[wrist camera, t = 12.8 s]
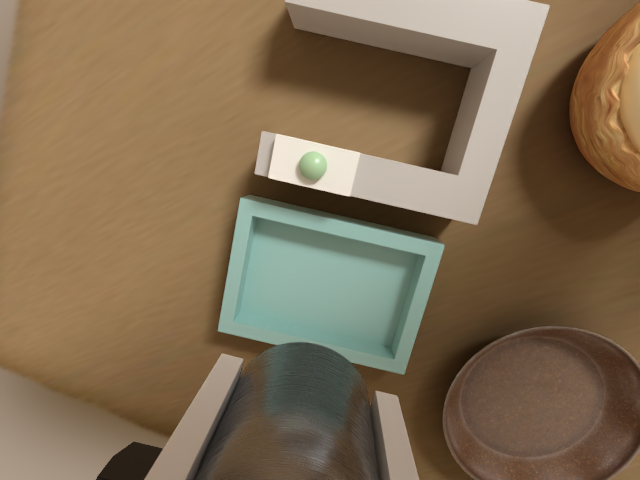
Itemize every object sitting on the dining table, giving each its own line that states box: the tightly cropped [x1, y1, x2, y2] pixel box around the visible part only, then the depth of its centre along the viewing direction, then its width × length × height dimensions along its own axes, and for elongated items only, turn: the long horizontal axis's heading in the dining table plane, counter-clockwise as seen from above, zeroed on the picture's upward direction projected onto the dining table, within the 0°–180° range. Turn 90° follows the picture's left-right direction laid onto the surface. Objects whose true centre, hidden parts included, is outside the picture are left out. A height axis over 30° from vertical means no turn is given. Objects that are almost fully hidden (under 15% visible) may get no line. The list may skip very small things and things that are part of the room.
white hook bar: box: [254, 0, 550, 225], centre depth 22 cm, size 12×14×5 cm
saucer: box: [443, 326, 640, 480], centre depth 27 cm, size 15×15×3 cm
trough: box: [218, 195, 445, 375], centre depth 26 cm, size 10×14×2 cm
